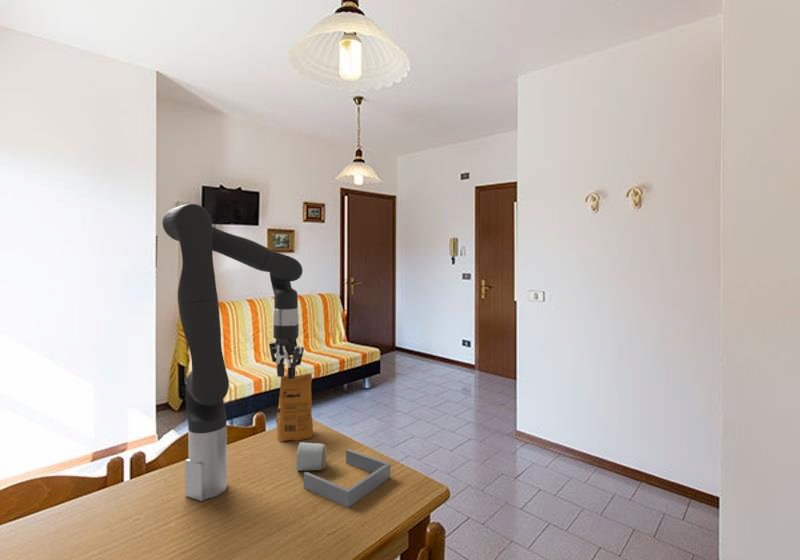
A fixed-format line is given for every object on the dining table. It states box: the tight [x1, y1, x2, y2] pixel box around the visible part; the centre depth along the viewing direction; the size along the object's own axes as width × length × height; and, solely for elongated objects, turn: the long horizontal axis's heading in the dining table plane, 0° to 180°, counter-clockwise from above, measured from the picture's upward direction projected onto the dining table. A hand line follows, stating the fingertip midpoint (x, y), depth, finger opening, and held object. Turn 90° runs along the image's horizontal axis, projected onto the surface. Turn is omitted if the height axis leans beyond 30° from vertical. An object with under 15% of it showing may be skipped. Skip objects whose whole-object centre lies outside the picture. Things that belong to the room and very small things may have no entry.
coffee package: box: [276, 372, 314, 443], centre depth 145 cm, size 10×12×22 cm
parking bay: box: [303, 448, 392, 509], centre depth 114 cm, size 18×16×4 cm
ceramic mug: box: [295, 441, 328, 472], centre depth 123 cm, size 11×8×8 cm
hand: (286, 377), depth 128 cm, fingers open, 4 cm apart
